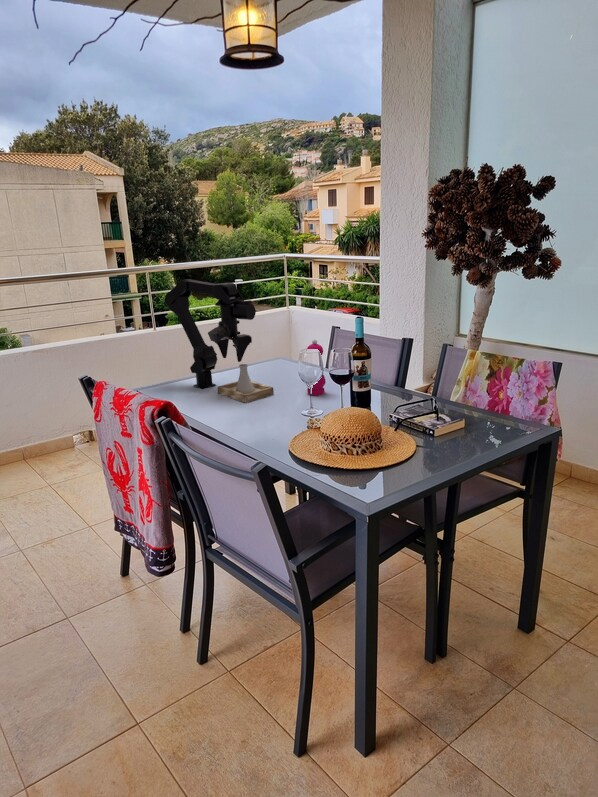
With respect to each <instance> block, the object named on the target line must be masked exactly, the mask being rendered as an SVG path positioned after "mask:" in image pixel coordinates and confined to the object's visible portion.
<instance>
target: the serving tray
mask: <svg viewBox="0 0 598 797" xmlns="http://www.w3.org/2000/svg"><path fill="white" fill-rule="evenodd" d="M237 383H238V380H237V381H234V382H230V383H226V384H222V385H219V386H217V387H216V390H217V395H220V394H221V396H223V395H224V396H223V397H226V396H227V397H226V398H229V397H230V399H232V398H233V399H232V400H235V399H236V400H235V401H238V400H239V402H241V401H242V403H244V402H245V404H248V403H252V402H254V401H258V400H261V399H264V398H268V397H271V396H274V395H275V393H274V387H273V386H270V385H266V384H263V383H260V382H259V383H258V382H255V381H253V380H251V383H252V385H253V387H254V389H255V390H254V391H253V392H251V393H241V392H238V391H235V390H236V387H237ZM247 402H248V403H247Z"/></svg>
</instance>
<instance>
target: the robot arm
mask: <svg viewBox="0 0 598 797" xmlns="http://www.w3.org/2000/svg"><path fill="white" fill-rule="evenodd" d="M236 285H237V284H236V283H234V282H222V283H213V282H207V281H201V280H195V279H192V278H189V279H188V278H187V279H182V280H181V281H180V282H179V283H178V284H177V285H176V286H175V287H173V288H172V289H171V290H169V291H168V292H167V293H166V294H165V296H164V301H165V304H166V305H167V307H168V309H169V310H170V311H171V312H172V313H173V314H174V315H176V316H177V318H178V320H179V322H180V325H181V326H182V329H183V330H184V332H185V334H186V337H187V338H188V341H189V342H190V345H191V347H192V348H193V351H192V352H193V353H192V358H193V360H194V362H193V363H192V365H191V366H190V368H189V369H190V372H191V373H192V374H195V378H196V379H195V380H196V383H195V384H193V387H195V388H197V389H198V388H199V389H201V390H204V389H207V388H211V387H215V386H217V385H216V384H215V383H214V382H213V375H212V370H215V368H216V365H217V363H218V357H217V355H218V354H217V353H216V351H215V348H214V346H213V345H208V344H206V343H205V340H204V338H203V336H202V334H201V332H200V330H199V328H198V326H197V324H196V322H195V319H194V317H193V316H192V313H191V311H190V301H189V300H190V299H189V298H190V297H191V295H192V292H193V293H194V292H195V293H200V294H204V295H211V296H212V297H214V298H215V299H216V300H217V302H215V304H214V306H215V307H219V308H220V321H218V326H216V327H214V328H213V329H211V330H209V331H208V332H207V335H208V337H209V340H210V342H214V343H215V344H216V345H217V347H218V348H219V351H220V353H221V356H222V358H223V359H226V358H227V357H228V356H227V355H228V347H229V341H232V346H233V347H234V349H235V351H236V359H237V362H238V363H240V362H242V360H243V358H244V355H245V352H246V351H247V348H248V346H250V344H252V343H253V339H252V336H251V335H250V334H245V333H244V334H243V333H241V331H239V330H238V325H239V324H240V320H244V321H245V320H246V321H252V320H254V319H255V317H256V315H257V314H256V312H257V309H256V308H255V305H254V304H253V303H252V300H250V299H249V300H245V298H244V297H243V296H242V294H241V293H240V291H239V289H238V287H237V286H236Z"/></svg>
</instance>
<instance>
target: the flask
mask: <svg viewBox="0 0 598 797" xmlns="http://www.w3.org/2000/svg"><path fill="white" fill-rule="evenodd" d="M248 366H249V365H248V363H241V364H238V368H239V377H238V380H237V381H238V383H237V387H236V390H235V391H238V392H241V393H251V392H253V391H254V390H255V389H254V387H253V385H252V383H251V381H252V380H251V378H250V376H249V373H248V372H249V371H248Z"/></svg>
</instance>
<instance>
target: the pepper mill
mask: <svg viewBox="0 0 598 797" xmlns="http://www.w3.org/2000/svg"><path fill="white" fill-rule="evenodd" d="M311 343H312V344H309V345H308V346H307V347H306V350H307V349H318V350H319V351H320V353H321V355H322V356H323V354H324V348H323V346H322V345H320V344H318V340H316V339H313V340H312V342H311ZM305 385H306V386H307V389H306V391H307V395H309V394H310V389H309V386H308V385H307V384H306V383H305ZM325 385H326V377H325V375H324V374H323V375H322V378H321V379H320V380H319V381H318V383H316V384H315V385H313V388H312V395H311V396H313V395H315V396H317V395H318V396H322V394H323V395H325V387H324V386H325ZM315 396H314V397H315ZM318 396H317V397H318Z"/></svg>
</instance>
